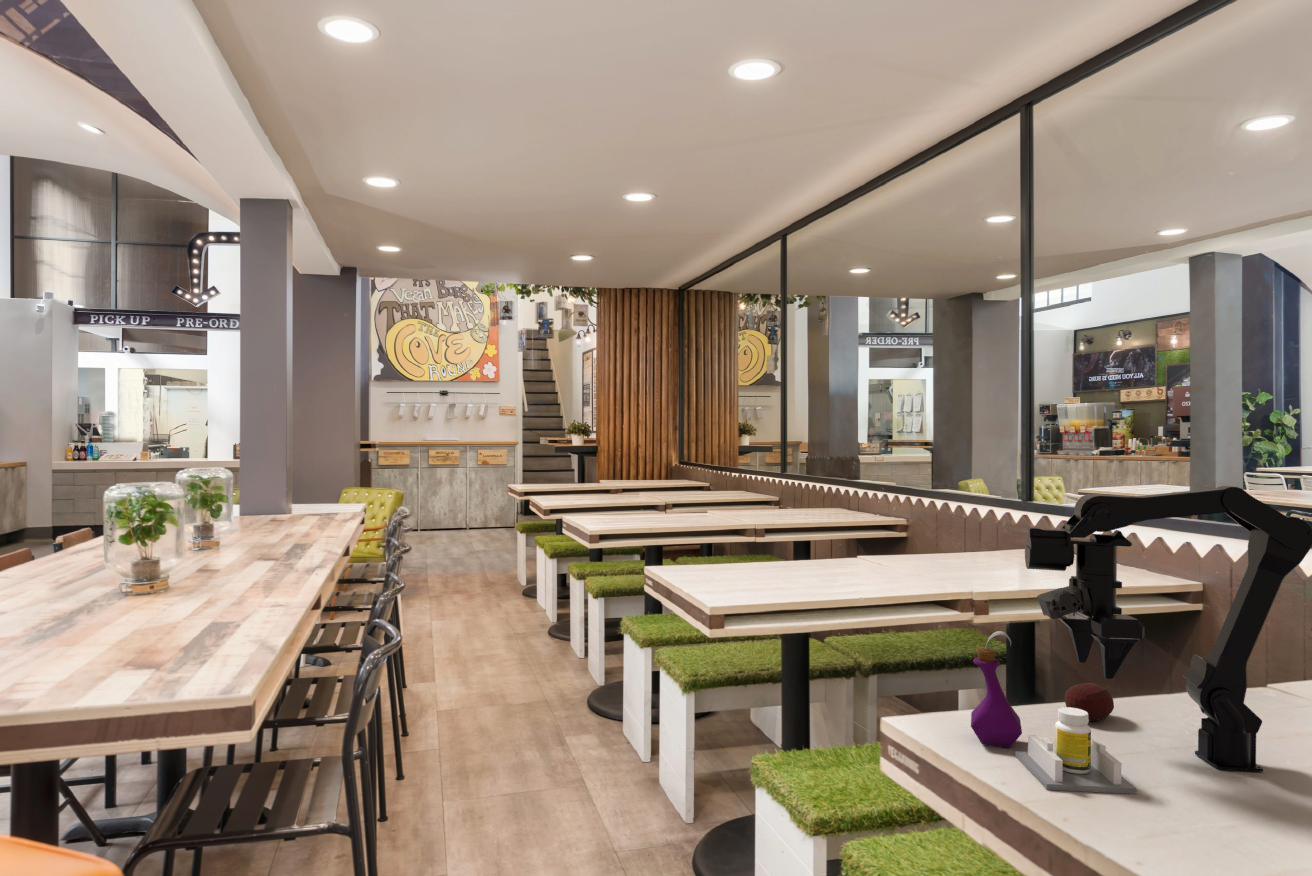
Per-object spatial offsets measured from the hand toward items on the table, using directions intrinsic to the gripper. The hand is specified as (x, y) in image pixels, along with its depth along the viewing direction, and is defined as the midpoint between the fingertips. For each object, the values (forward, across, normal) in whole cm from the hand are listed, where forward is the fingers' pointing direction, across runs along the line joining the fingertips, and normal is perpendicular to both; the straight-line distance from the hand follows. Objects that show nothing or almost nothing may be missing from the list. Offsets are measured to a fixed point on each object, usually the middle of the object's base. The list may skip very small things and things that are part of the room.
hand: (1094, 670), depth 129 cm
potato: (+13, -15, +6) cm, 21 cm away
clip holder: (+12, +11, -8) cm, 18 cm away
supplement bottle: (+12, +11, -8) cm, 18 cm away
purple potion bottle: (+13, -1, -15) cm, 20 cm away
